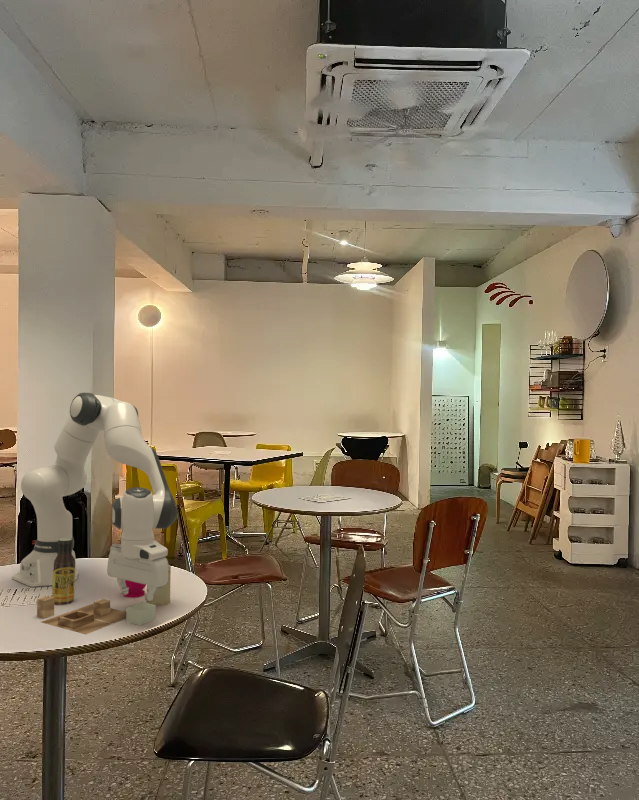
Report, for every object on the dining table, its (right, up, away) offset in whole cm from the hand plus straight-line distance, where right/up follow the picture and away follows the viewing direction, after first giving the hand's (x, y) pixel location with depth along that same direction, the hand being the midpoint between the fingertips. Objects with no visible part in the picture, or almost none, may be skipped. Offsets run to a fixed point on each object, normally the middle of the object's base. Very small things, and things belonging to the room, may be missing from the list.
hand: (136, 597), depth 183 cm
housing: (+1, -7, 0) cm, 8 cm away
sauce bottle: (-26, -7, +15) cm, 31 cm away
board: (-14, -7, +1) cm, 15 cm away
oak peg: (-26, -7, +3) cm, 28 cm away
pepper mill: (-7, -7, +23) cm, 25 cm away
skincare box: (+2, -7, +15) cm, 17 cm away
